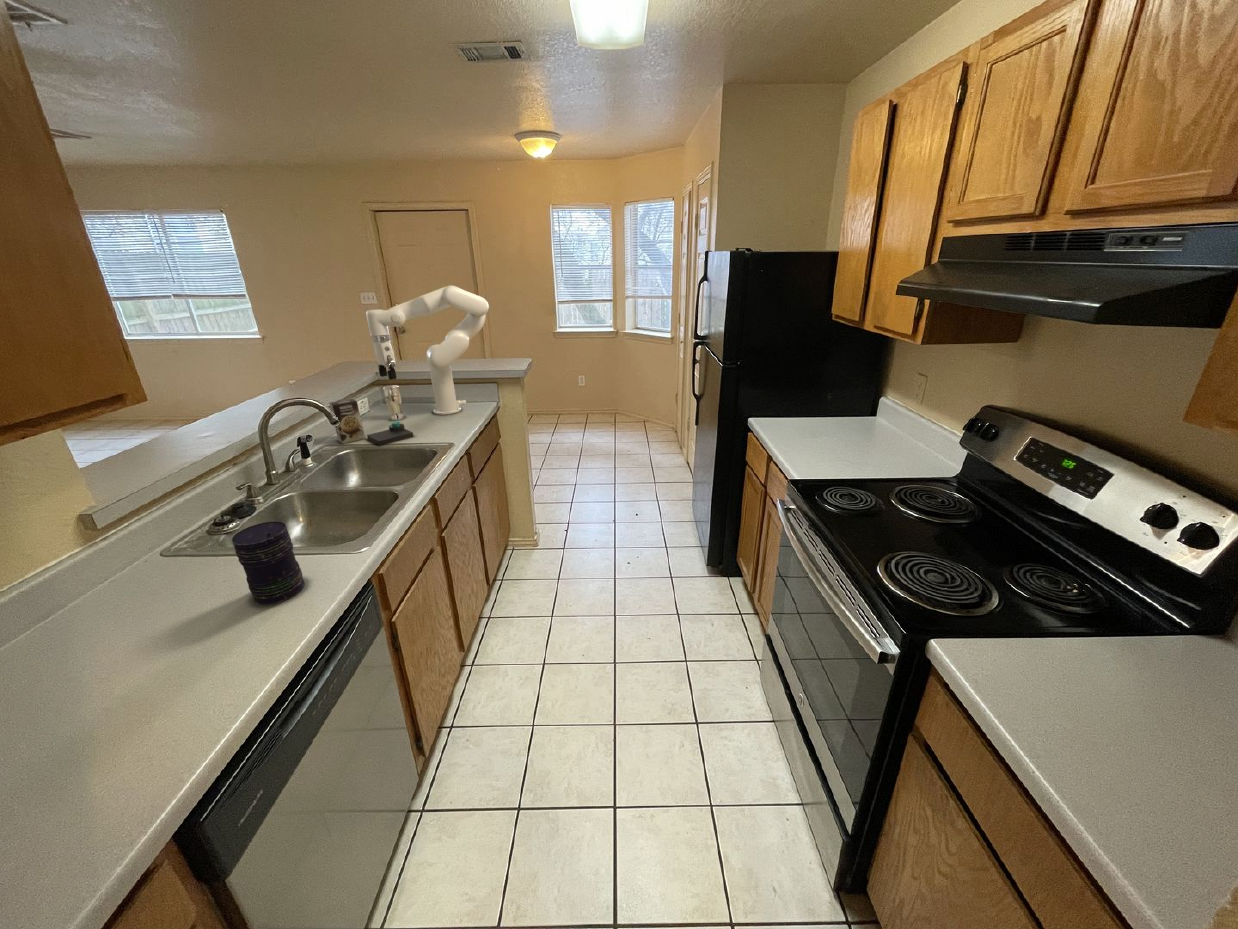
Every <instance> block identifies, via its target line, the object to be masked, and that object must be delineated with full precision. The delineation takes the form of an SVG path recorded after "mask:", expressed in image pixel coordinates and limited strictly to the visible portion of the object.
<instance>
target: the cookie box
mask: <svg viewBox="0 0 1238 929" xmlns="http://www.w3.org/2000/svg"><path fill="white" fill-rule="evenodd" d="M329 407H330V412H331V411H332V412H333V413H334V414H335V415H336V417H338V420H339V422H340V424H339V425H338V426H335V425H334V428H335V432H336V436H337V437H336V438H337V440H338V441H339V442H340V443H341V444H346V443H351V442H356V441H360V440H365V439H366V435H365V431H364V426H363V421H362V418H361V413H360V409H359V404H358V401H357V400H356V399H354V398H349V399H343V400H336V401H331V402H329ZM332 412H331V413H332Z"/></svg>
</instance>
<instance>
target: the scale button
mask: <svg viewBox="0 0 1238 929" xmlns="http://www.w3.org/2000/svg"><path fill="white" fill-rule="evenodd" d="M400 424H401V423H400V421H394V422H392V423H391V425H392V426H393V427H398V426H400Z"/></svg>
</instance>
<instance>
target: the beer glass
mask: <svg viewBox="0 0 1238 929" xmlns="http://www.w3.org/2000/svg"><path fill="white" fill-rule="evenodd" d="M382 389H383V396H384V400H385V403H386V405H387V407H388V410H389V414H390V415H389V416H390V418H389V419H390V420H391V421H400V420H404V419H405V414H404V411H403V400H402V393H401V388H400V386H399V385H397V384H392V385H391V384H390V385H385V386H383V388H382Z"/></svg>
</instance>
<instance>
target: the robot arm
mask: <svg viewBox="0 0 1238 929" xmlns="http://www.w3.org/2000/svg"><path fill="white" fill-rule="evenodd" d="M489 306H490V305H489V303H488V301H487V299H485V298H484V297H482V296H480V295H477V294H475V293H472V292H469V291H467V290H465V289H463V288H460V287H458V286H457V285H451V284H450V285H445V286H443V287H441V288H437V289H435V290H433V291H430V292H428V293H425V294H423V295H419V296H417V297H415V298H413V299H410V300H407V301H404V302H402V303H399V304H397V305H395V306H392V307H390V308H388V309H379V308H378V309H369V310H367V311H366V314H365V315H366V319H367V320H366V321H367V325H368V329H369V335H370V339H371V343H372V344H373V349H374V355H375V361H376V364H377V368H378V372H379V377H381V378H382V377H388V380H390V381H391V380H396V379H397V372H396V363H397V362H396V358H395V353H394V349H393V347H392V343H391V336H390V331H389V330H390V329H389V327H396V328H397V327H401V326H403V325H404V324H405V322H408V321H409V320H412V319H415V318H418V317H422V316H430V315H433V314H436V313H438V312H440V311H443V310H446V309H448V308H451V307H454V308H456V309H458V310H461V311H463V312H466V313H467V314H466V316H465V317H464V318H463V319H462V320H461V321H460V322H459V323H458V324H457V325H456V326H454V327H453V328H452V329H451V330H449V331H448V332H447V333H446V335H445V339H443V341H441V342H440V343H439V344H437V343H436V344H433V345H430V346H429V348H428V349H427V350H426V359H427V364H428V369H429V374H430V378H431V385H432V386H431V387H432V390H433V396H434V402H435V408H434V409H433V414H435V415H440V416H441V415H442V416H446V415H453V414H457V413H459V412H461V411H462V407H461V406H462V405H463V406H464V405H466V404H467V401H466V399H463V400H460V399H459V400H458V399H457V396H456V390H455V384H454V377H453V371H452V367H451V365H452V364H453V363H454V362H455V361H457V360H458V359H459V358H460V357H461V356H463V354H465V352H467V350H468V349H469V347H470V341H471V340H472V339H473V338H474V337H475V336H476V335H478V333H479V332H480V331H481V330H482V328H483V327H484V325H485V322H486V315H487V313H488V311H489V308H490V307H489Z"/></svg>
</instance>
